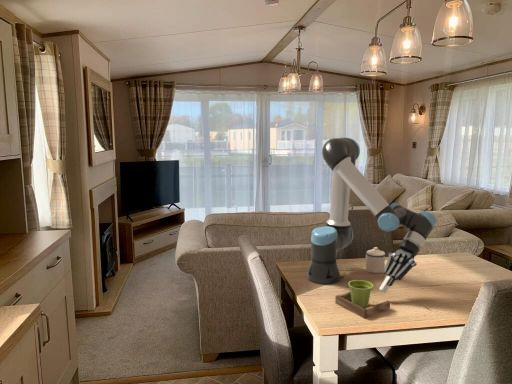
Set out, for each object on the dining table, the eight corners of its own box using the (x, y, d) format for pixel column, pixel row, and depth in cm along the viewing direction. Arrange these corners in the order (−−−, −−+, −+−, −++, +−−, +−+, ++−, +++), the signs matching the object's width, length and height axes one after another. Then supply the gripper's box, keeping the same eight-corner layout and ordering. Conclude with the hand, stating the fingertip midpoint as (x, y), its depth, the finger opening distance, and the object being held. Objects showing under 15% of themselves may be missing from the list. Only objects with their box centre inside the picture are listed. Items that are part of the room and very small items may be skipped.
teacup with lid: (388, 272, 191) (389, 249, 190) (372, 274, 189) (373, 251, 187) (373, 264, 203) (374, 242, 201) (358, 266, 200) (359, 244, 198)
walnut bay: (360, 295, 165) (360, 288, 165) (389, 309, 152) (390, 301, 152) (335, 303, 158) (335, 295, 158) (364, 318, 145) (364, 310, 145)
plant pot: (351, 298, 163) (352, 278, 161) (375, 303, 158) (375, 282, 157) (344, 307, 155) (345, 286, 153) (368, 312, 150) (369, 290, 149)
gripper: (428, 253, 161) (399, 301, 156) (402, 245, 172) (374, 290, 167) (420, 242, 158) (390, 291, 152) (394, 235, 169) (365, 281, 163)
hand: (382, 291), depth 160 cm, fingers closed
